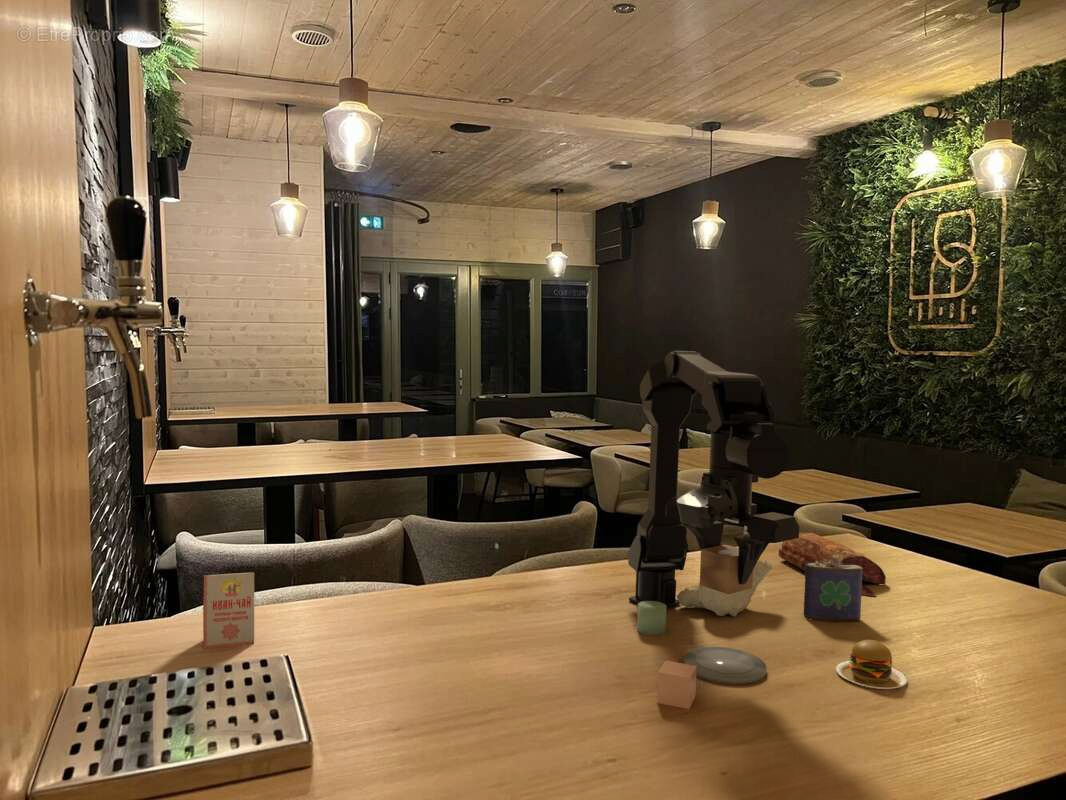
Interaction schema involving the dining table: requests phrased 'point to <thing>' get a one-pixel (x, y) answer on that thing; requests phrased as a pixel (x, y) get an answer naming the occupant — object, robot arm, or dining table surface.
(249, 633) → the tea box
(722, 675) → the saucer
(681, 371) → the robot arm
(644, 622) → the green tin
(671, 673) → the terracotta block
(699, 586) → the white lumpy piece
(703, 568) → the walnut block
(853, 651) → the hamburger
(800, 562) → the cured meat
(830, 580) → the flask
